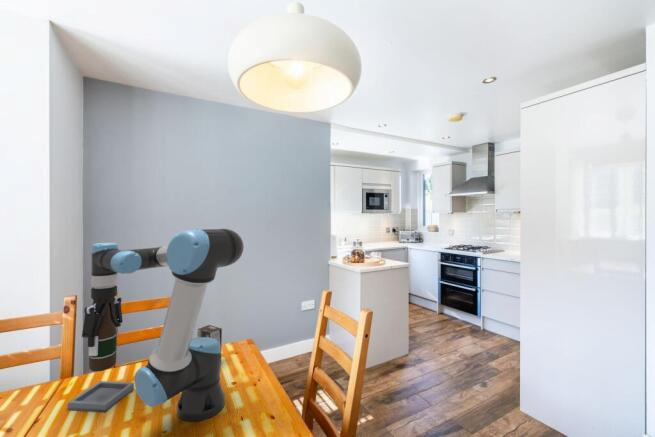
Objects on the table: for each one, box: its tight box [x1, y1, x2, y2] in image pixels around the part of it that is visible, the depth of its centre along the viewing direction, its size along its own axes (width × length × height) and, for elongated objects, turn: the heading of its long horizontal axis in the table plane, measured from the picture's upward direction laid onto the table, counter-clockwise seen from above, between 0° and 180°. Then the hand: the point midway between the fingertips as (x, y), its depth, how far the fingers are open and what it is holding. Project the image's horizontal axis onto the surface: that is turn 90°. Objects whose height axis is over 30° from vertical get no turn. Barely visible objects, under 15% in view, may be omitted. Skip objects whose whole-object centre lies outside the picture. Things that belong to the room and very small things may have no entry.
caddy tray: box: [66, 380, 135, 413], centre depth 107 cm, size 13×13×2 cm
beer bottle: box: [88, 299, 118, 372], centre depth 107 cm, size 8×8×24 cm
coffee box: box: [196, 324, 223, 366], centre depth 133 cm, size 9×6×16 cm
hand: (103, 349), depth 107 cm, fingers closed on beer bottle, 8 cm apart
